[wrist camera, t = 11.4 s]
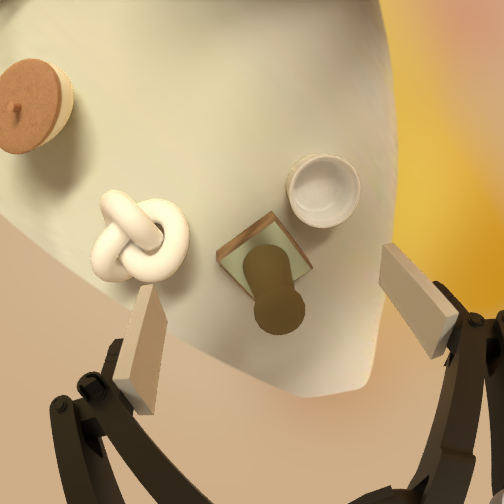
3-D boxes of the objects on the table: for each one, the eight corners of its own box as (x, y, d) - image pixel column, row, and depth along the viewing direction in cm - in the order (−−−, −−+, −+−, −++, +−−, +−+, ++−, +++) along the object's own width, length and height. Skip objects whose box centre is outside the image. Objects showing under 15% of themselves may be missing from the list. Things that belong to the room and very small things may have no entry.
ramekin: (269, 171, 36) (275, 179, 32) (330, 137, 35) (343, 141, 31) (300, 227, 40) (309, 241, 36) (356, 196, 39) (370, 206, 35)
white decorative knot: (193, 179, 36) (186, 201, 28) (192, 266, 41) (187, 306, 33) (105, 178, 34) (77, 200, 26) (113, 263, 39) (93, 300, 31)
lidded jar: (86, 139, 31) (50, 152, 23) (21, 147, 30) (-20, 162, 22) (89, 57, 27) (54, 47, 18) (23, 72, 25) (-20, 71, 17)
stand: (271, 210, 39) (275, 219, 36) (307, 258, 42) (313, 269, 40) (216, 251, 40) (216, 262, 38) (256, 294, 44) (258, 306, 41)
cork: (278, 290, 41) (296, 348, 31) (235, 279, 39) (242, 337, 29) (297, 251, 38) (323, 303, 28) (252, 238, 37) (266, 289, 27)
